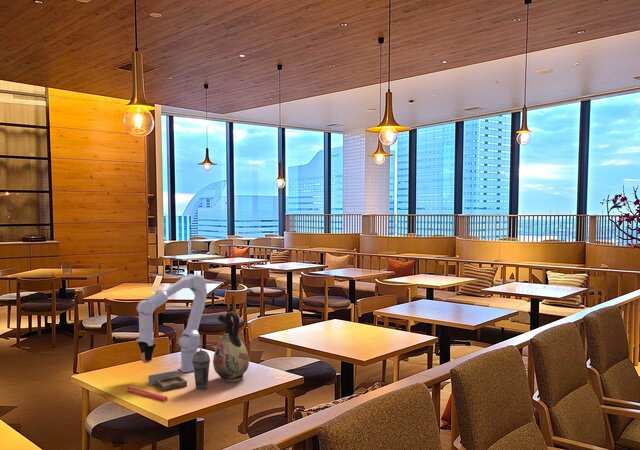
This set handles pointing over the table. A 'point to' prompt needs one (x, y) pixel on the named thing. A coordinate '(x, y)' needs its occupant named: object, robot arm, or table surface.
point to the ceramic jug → (230, 351)
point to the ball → (144, 358)
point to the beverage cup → (201, 368)
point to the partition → (160, 377)
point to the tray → (171, 383)
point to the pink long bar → (146, 393)
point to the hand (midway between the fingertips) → (146, 359)
